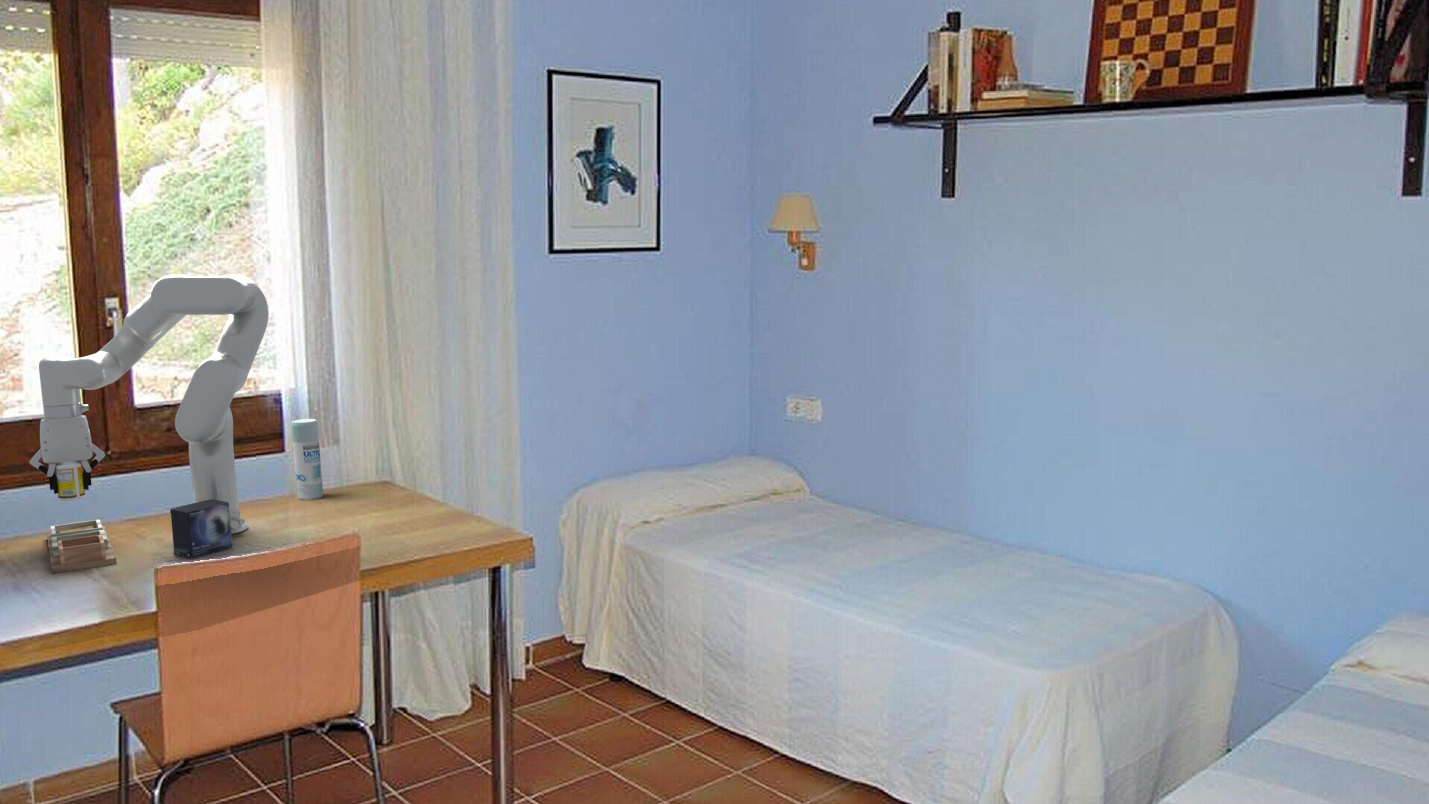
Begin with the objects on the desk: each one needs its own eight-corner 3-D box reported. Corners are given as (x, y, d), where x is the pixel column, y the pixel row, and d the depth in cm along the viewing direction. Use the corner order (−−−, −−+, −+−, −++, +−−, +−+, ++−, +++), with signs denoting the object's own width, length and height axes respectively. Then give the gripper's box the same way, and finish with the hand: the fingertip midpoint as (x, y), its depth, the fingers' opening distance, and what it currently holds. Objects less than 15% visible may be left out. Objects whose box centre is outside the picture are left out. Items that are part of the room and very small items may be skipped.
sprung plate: (94, 535, 275) (94, 531, 275) (61, 540, 272) (60, 536, 272) (93, 529, 281) (92, 525, 281) (59, 533, 278) (59, 530, 278)
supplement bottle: (79, 495, 279) (75, 451, 278) (90, 498, 276) (85, 453, 274) (54, 499, 275) (49, 455, 274) (64, 502, 272) (59, 457, 270)
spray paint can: (308, 500, 310) (301, 423, 307) (292, 498, 314) (285, 422, 311) (329, 495, 316) (322, 419, 313) (312, 493, 319) (306, 418, 316)
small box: (191, 559, 258) (186, 511, 256) (172, 556, 261) (167, 508, 260) (234, 547, 267) (229, 500, 265) (215, 544, 270) (211, 498, 268)
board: (116, 563, 257) (114, 541, 256) (52, 573, 251) (49, 551, 250) (105, 531, 286) (102, 511, 285) (47, 539, 280) (44, 519, 279)
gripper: (104, 406, 280) (112, 483, 283) (18, 413, 272) (27, 493, 274) (106, 410, 274) (114, 488, 276) (19, 418, 265) (28, 499, 268)
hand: (71, 490), depth 275 cm, fingers closed on supplement bottle, 5 cm apart
